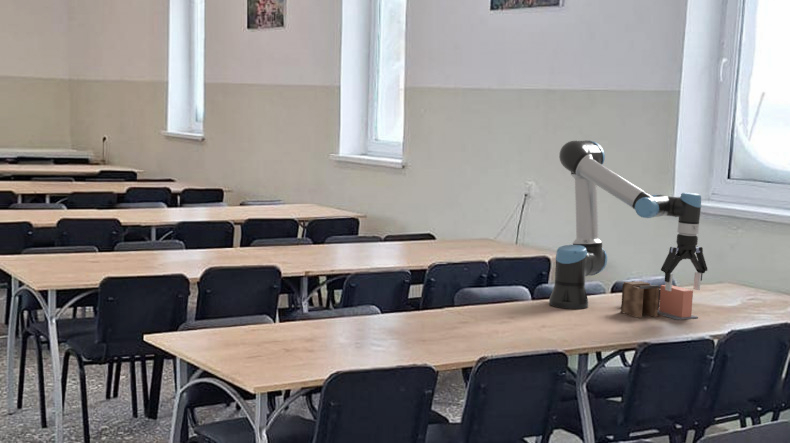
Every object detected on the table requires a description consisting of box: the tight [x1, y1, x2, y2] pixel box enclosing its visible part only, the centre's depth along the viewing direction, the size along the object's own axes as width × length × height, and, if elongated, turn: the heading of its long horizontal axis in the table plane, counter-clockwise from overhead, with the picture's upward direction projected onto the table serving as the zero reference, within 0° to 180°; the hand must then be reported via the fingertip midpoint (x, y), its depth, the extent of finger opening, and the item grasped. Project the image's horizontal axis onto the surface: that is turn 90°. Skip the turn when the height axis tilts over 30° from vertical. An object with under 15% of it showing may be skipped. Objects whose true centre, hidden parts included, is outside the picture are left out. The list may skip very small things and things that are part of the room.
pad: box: [657, 310, 699, 321], centre depth 374 cm, size 14×10×1 cm
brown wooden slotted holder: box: [620, 280, 660, 319], centre depth 373 cm, size 11×8×12 cm
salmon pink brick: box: [659, 284, 694, 317], centre depth 373 cm, size 13×4×10 cm, turn 24°
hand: (682, 290), depth 370 cm, fingers open, 13 cm apart
